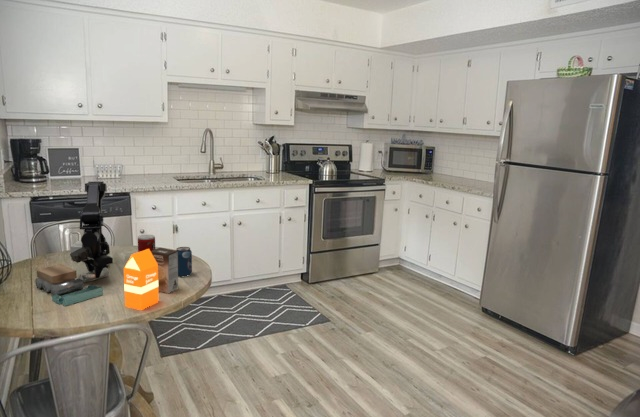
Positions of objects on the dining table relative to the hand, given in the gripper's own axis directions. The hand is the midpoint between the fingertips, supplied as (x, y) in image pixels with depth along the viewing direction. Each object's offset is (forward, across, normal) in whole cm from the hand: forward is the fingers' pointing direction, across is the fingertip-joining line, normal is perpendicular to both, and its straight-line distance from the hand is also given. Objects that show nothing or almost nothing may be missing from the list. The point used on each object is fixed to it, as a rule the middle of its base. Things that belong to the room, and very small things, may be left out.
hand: (94, 276), depth 182 cm
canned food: (+1, -9, +31) cm, 32 cm away
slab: (-3, -2, -14) cm, 14 cm away
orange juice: (+1, +37, -3) cm, 37 cm away
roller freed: (+1, 0, 0) cm, 1 cm away
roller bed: (+1, +5, -14) cm, 15 cm away
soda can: (+1, +23, +27) cm, 35 cm away
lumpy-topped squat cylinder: (+1, -30, +13) cm, 33 cm away
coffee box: (+1, +31, +11) cm, 33 cm away
